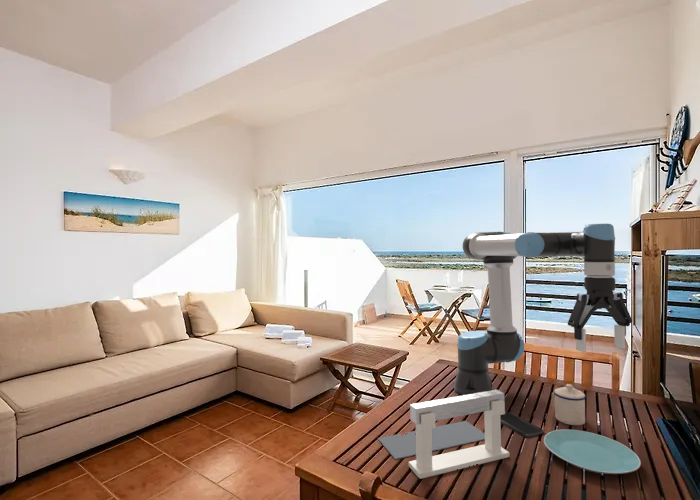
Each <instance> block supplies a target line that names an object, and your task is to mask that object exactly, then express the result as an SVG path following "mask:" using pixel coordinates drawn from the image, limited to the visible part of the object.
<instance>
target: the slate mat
mask: <svg viewBox="0 0 700 500" xmlns="http://www.w3.org/2000/svg"><path fill="white" fill-rule="evenodd" d="M406 433H408V434H406V435H405V434H404V435H402V436H403V437H402V436H401V434H402V433H397V434H393V435H387V436H382V437H377V440H378V441H379V443H380V444H381V443H382V444H381V445H382V446H383V447H384V449H385V450H386V451H387V452H388V453H389V455H390V456H392V458H393V459H394V461H396V460H401V459H405V458H408V457H413V455H414V456H416V435H415V433H416V430H413V431H412V430H411V431H407V432H406ZM480 441H481V442H482V441H485V432H483V431H482V430H480V429H479V428H478V427H476V426H474V425H473V424H471V423H470V422H469V421H467V420H462V421H459V422H457V421H456V422H453V423H448V424H444V425H443V424H442V425H439V426H438V425H436V428H432V452H435V451H436V450H437V451H441V450H444V449H446V450H447V449H450V448H453V447H458V446H464V445H467V444H472V443H471V442H473V443H476V442H480Z"/></svg>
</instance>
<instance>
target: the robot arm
mask: <svg viewBox="0 0 700 500" xmlns="http://www.w3.org/2000/svg"><path fill="white" fill-rule="evenodd" d="M462 241H463V242H462V251H463V253H464V254H465V256H467V257H468V258H470V259H473V260H476V261H480V260H481V261H483V265H484V266H485V267H486V268H487V277H488V278H487V281H488V297H489V322H490V325H489V326H487V327H486V331H483V330H469V331H465V332H463V333H461V334H459V335H458V337H457V344H456V346H457V364H458V365H457V366H458V367H457V368H458V370H457V373H456V376H455V380H454V383H453V385H454V386H453V389H454V391H455V392H456V393H458V394H460V395H461V396H462V395H468V394H474V393H480V392H486V391H491V390H494V386H493V383H492V379H491V377H490V374H489V364H499V363H500V364H501V363H502V364H503V363H511V362H515V361H519V360H520V359H521V358H522V356H523V355H524V351H525V342H524V339H523V336H522V335H521V334H520V333H518V330H517V328H516V327H515V326H514V325H513V324H514V323H513V310H512V306H513V305H512V288H511V267H512V265H513V264H514V259H516V258H518V257H525V258H537V257H539V258H540V257H541V258H542V257H583V267H584V268H583V273H584V274H583V275H585V276H586V277H584V279H583V280H584V282H583V283H584V289H585V290H586V293H577V294H576V301H575V304H574V306H573V309H572V312H571V313H570V316H569V319H568V321H567V325H568V326H570V327H571V328H573V330H574V332H573V333H574V335H573V336H574V337H573V338H574V340H575V349H576V351H578V352H582V353H586V352H587V336H586V335H587V331H586V330H587V329H586V328H584V327H585V325H586V324H587V323H588V321H589V319H590V318H591V317H592V315H593V313H594V312H596V311H597V310H602V309H605V310H606V312H608V313H609V315H610V317H612V319H613V320H614V321H615V324H613V325H614V326H613V329H614V332H613V333H614V335H613V337H614V347H616V348H619V349H623V350H625V349H626V336H627V327H630V326H631V325H630V324H632V323H633V318H632V317H631V314H630V312H629V310H628V307H627V306H626V303H625V301H624V295H623V292H621V291H615V290H616V278H615V277H614V276H615V275H616V267H615V266H616V263H615V262H616V261H615V259H616V258H615V257H616V256H615V255H616V254H615V253H616V252H615V249H616V246H615V245H616V236H615V228H614V225H613V224H611V223H590V224H584V226H583V230H582V231H575V232H574V231H573V232H571V231H570V232H569V231H568V232H564V231H563V232H534V231H531V232H522V233H511V232H506V231H477V232H471V233H470V234H468V235H467V236H465V238H463V240H462Z"/></svg>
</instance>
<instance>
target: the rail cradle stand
mask: <svg viewBox="0 0 700 500" xmlns="http://www.w3.org/2000/svg"><path fill="white" fill-rule="evenodd" d="M505 405H506V403H505V400H504V401H503V400H498V401H493V402H491V409H492V410H489V411H484V412H483V416H484V433H485V440H484V444H480V445H475V446H471V447H466V448H462V449H458V450H454V451H449V452H445V453H441V454H437V455H433V451H432V428H436V427H437V425H436V421H435V413H427V414H422V415H421V424H415V431H416V455H415V459H414V460H410V461H408V467H409V468H410V469H411V471H412V472H413V473H414V474H415V475H416V477H418V479H420V480H421V479H425V478H429V477H434V476H437V475H442V474H445V473H450V472H454V471H457V469H458V470H462V469H466V468H470V467H474V466H477V465H476V464H478V465H483V464H485V463H486V464H487V463H491V462H494V461H498V460H502V459H507V458H510V452H509V451H508V450H507V449H505V448H503V447H502V438H501V437H502V436H501V435H502V432H501V431H502V430H501V425H502V424H501V422H500V415H503V414H505V413H506V407H505ZM473 465H474V466H473ZM469 466H470V467H469Z"/></svg>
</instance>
